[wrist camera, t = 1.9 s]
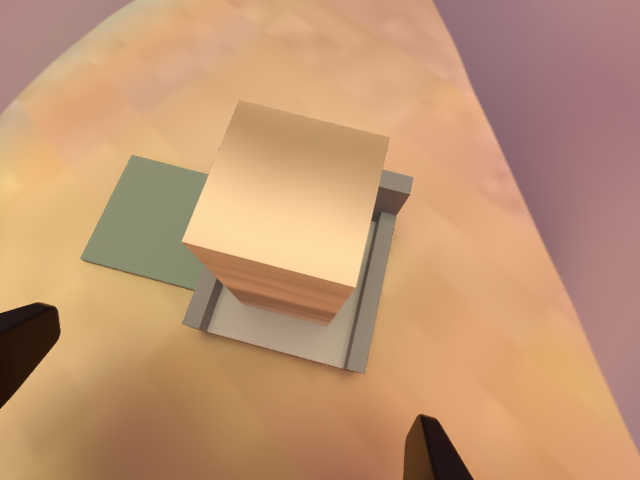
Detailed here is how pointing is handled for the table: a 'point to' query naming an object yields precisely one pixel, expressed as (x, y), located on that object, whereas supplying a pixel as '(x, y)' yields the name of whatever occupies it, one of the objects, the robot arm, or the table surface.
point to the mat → (149, 223)
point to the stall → (302, 336)
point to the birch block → (288, 211)
